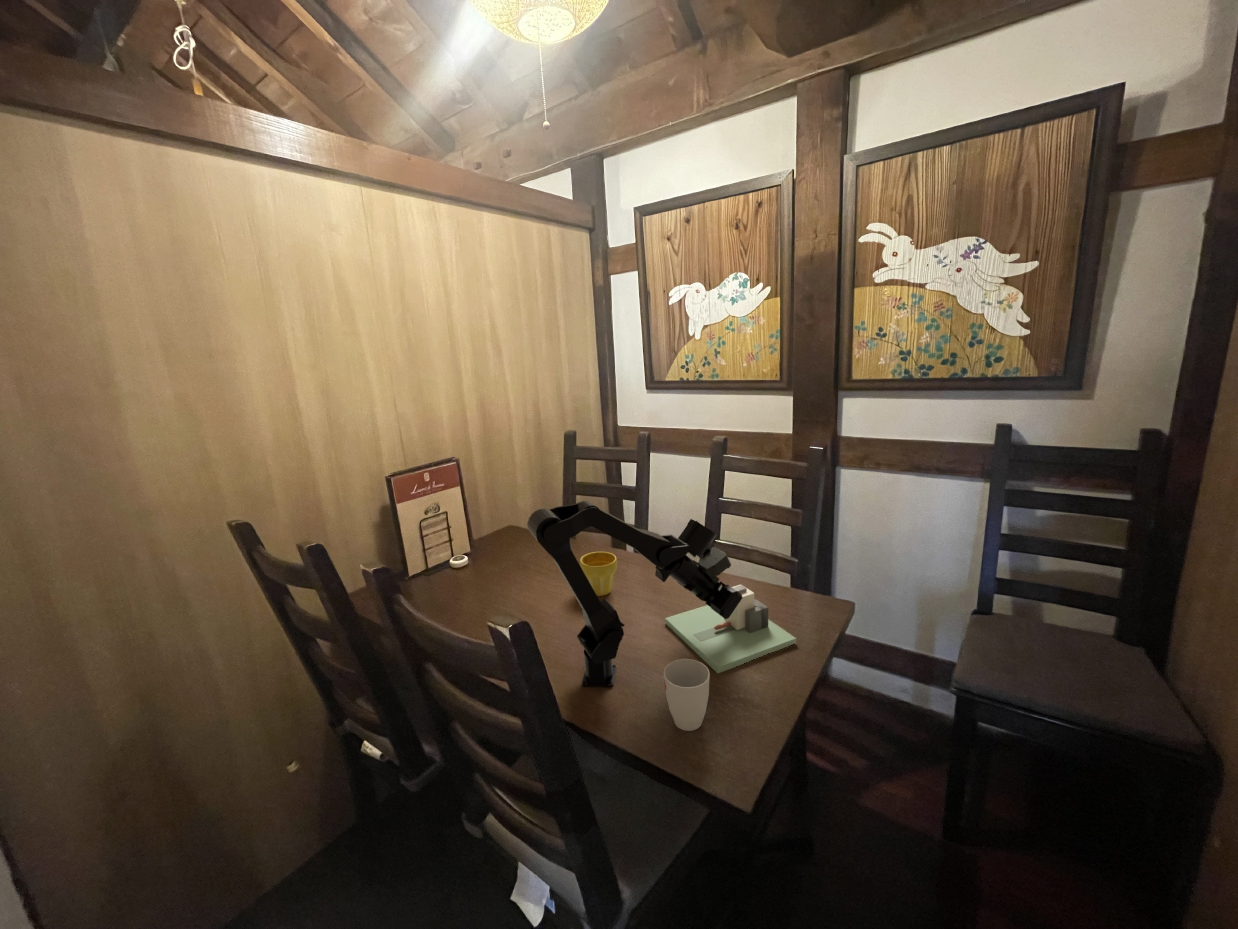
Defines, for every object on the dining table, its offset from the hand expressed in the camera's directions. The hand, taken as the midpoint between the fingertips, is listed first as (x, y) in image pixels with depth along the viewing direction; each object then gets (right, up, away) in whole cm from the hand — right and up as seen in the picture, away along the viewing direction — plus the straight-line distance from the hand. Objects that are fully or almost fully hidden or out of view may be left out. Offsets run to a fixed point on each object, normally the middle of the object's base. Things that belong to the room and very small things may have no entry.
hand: (729, 604), depth 116 cm
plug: (+1, -5, +1) cm, 5 cm away
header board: (0, -7, +1) cm, 7 cm away
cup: (-13, -14, -25) cm, 31 cm away
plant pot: (-31, -3, +26) cm, 41 cm away
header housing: (+5, -5, +3) cm, 8 cm away
